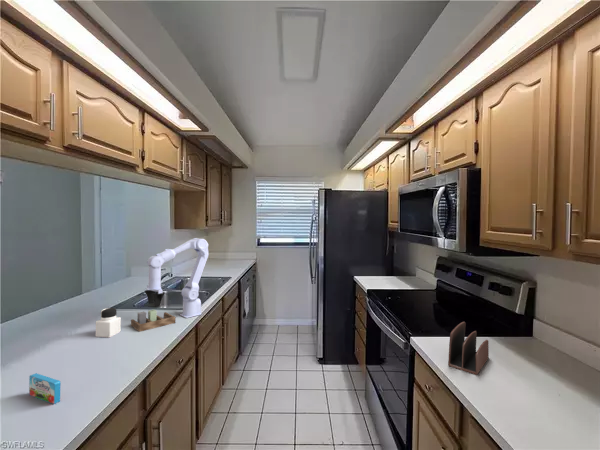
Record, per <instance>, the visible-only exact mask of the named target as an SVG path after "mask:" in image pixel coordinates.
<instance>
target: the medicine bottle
mask: <svg viewBox="0 0 600 450" xmlns="http://www.w3.org/2000/svg"><path fill="white" fill-rule="evenodd" d="M121 323H122V318H121V316H120V317H118V316H117V308H115V307H107V308H104V309H102V310H101V311H100V319H99V320H96V321H95V337H96V338H112V337H114V336H115V335H117V334H119V333H121V331H122V330H121V326H122V324H121Z"/></svg>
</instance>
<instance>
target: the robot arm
mask: <svg viewBox="0 0 600 450" xmlns="http://www.w3.org/2000/svg"><path fill="white" fill-rule="evenodd" d="M189 249H192V250H195V252H196V253H197V254H196V255H197V258H196V260H195V264H194V267H193V269H192V272H191V275H190V277H189V280H188V281H187V283H185V286H184V287H183V288H182V290H181V296H182V313H180V314H179V315H180V317H183V318H185V319H187V318H188V319H189V318H192V317H197V316H200V315H202V302H201V299H200V298H199V291H200V286H199V283H200V280H201V277H202V274H203V271H204V269H205V266H206V263H207V260H208V258H209V253H210V252H209V243H208V241H207V240H206V239H205V238H198V237H194V238H192V239H188V240H187V241H185V242H184V243H182V244H179V245H178V246H177V247H175V248H173V249H171V248H165V249H164V251H162V252H159V253H156V254H155V255H151V256H150V257H148V259H147V261H146V264H147V265H148V285H146V288H145V290H144V293H145V295H146V297H147V301H148V304H149V305H150V304H154V307H155V308H157V307H161V303H162V300H163V297H164V295H165V292H163V289H162V286H161V285H162V278H161V277H162V271H161V270H162V269H161V267H162V266H163V264H166V263H167V262H169V261H171V260H173V259H175V257H176V255H178V254H180V253H183V252H185V251H187V250H189Z"/></svg>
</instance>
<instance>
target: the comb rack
mask: <svg viewBox="0 0 600 450" xmlns="http://www.w3.org/2000/svg"><path fill="white" fill-rule="evenodd" d="M175 323H176V316H174V315H173V314H170V313H168V312H163V318H162V317H161V316H159V315H157V319H156V321H151V320H149V319H148V317H146V323H144V324H140V323H138V322H137V321H136V320H135V319H131V320H130V326H131V327H132V328H134V329H135V330H136V331H138V332H144V331H147V330H152V329H156V328H160V327H164V326H167V325H169V326H170V325H172V324H175Z"/></svg>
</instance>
